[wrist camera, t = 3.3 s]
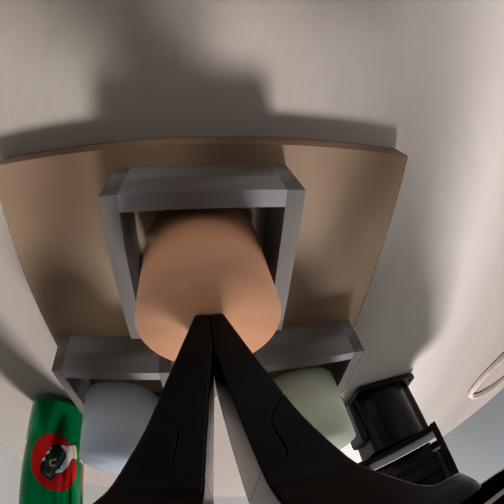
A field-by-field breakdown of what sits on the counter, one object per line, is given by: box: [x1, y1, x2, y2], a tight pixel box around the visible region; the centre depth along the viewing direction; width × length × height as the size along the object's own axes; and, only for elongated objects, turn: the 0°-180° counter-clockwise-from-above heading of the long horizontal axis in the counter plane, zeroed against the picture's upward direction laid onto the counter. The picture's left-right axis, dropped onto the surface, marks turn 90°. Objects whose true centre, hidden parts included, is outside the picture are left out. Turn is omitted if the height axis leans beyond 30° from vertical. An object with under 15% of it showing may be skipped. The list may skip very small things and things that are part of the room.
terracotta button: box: [134, 208, 281, 362], centre depth 11 cm, size 4×4×4 cm
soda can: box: [19, 395, 84, 504], centre depth 16 cm, size 5×5×12 cm
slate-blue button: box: [79, 381, 159, 474], centre depth 14 cm, size 4×4×4 cm
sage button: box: [273, 367, 356, 449], centre depth 16 cm, size 4×4×4 cm
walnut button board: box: [0, 137, 408, 414], centre depth 15 cm, size 18×16×3 cm
